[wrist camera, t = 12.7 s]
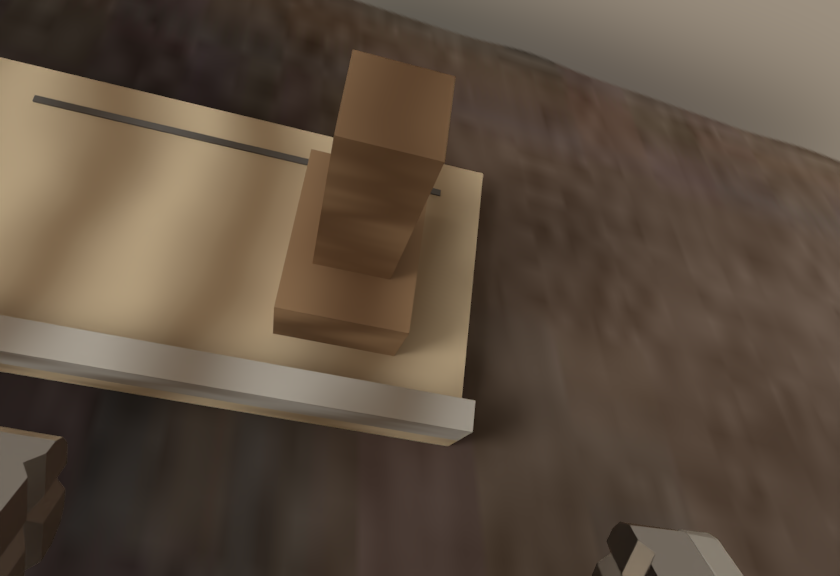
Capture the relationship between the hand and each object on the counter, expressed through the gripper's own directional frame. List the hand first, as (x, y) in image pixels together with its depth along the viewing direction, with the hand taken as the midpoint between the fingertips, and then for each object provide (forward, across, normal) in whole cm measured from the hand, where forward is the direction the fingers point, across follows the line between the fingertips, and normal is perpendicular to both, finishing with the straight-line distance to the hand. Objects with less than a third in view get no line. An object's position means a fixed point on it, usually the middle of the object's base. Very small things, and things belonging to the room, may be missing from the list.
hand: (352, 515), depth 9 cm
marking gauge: (+18, 0, +3) cm, 18 cm away
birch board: (+19, +5, +4) cm, 20 cm away
